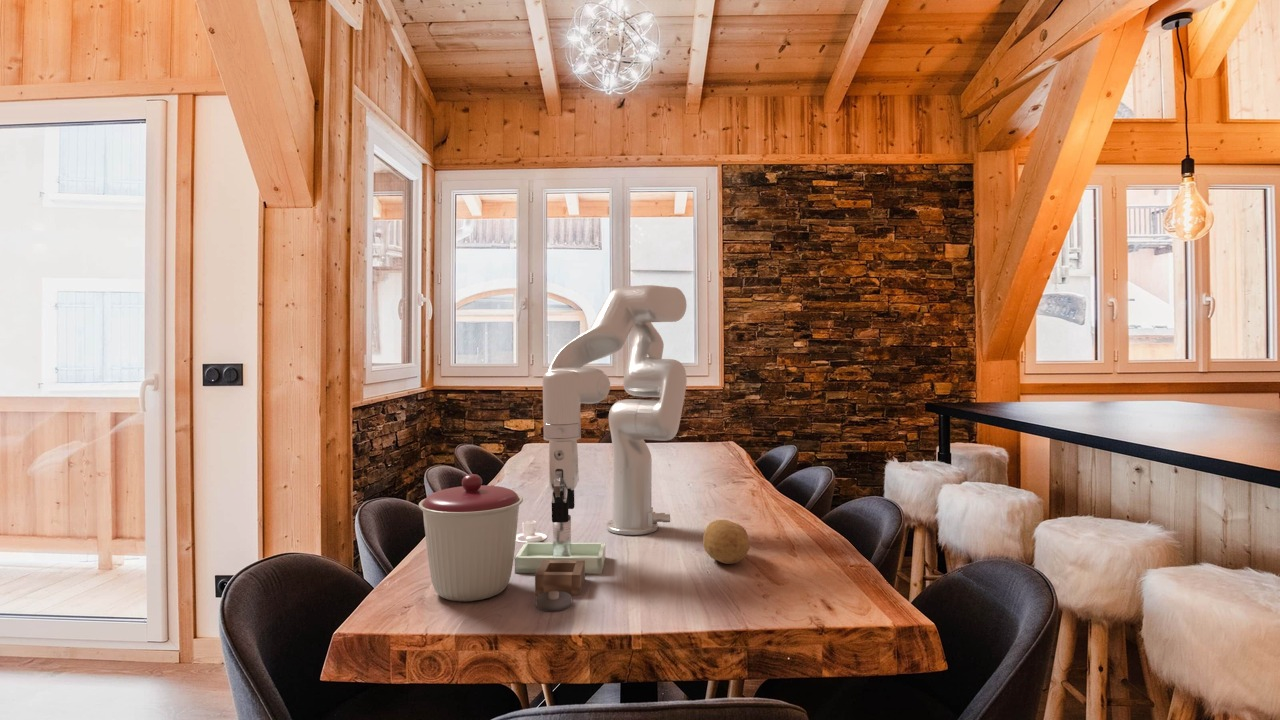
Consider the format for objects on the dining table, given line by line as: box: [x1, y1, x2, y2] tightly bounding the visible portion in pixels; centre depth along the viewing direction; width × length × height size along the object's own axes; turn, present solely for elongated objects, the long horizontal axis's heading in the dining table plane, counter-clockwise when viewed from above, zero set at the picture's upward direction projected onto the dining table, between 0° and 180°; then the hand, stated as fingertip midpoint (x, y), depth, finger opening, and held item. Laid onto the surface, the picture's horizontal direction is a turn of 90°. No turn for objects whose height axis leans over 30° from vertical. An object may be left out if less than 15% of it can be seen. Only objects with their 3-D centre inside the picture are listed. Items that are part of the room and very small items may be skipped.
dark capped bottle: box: [552, 514, 572, 557], centre depth 129 cm, size 4×4×9 cm
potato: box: [702, 519, 751, 565], centre depth 131 cm, size 10×14×8 cm
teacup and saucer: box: [515, 520, 548, 544], centre depth 148 cm, size 9×8×4 cm
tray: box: [514, 542, 606, 574], centre depth 129 cm, size 17×10×3 cm, turn 89°
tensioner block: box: [534, 560, 586, 613], centre depth 113 cm, size 8×16×4 cm, turn 179°
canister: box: [418, 473, 524, 602], centre depth 114 cm, size 18×18×21 cm
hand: (563, 515), depth 129 cm, fingers open, 9 cm apart
